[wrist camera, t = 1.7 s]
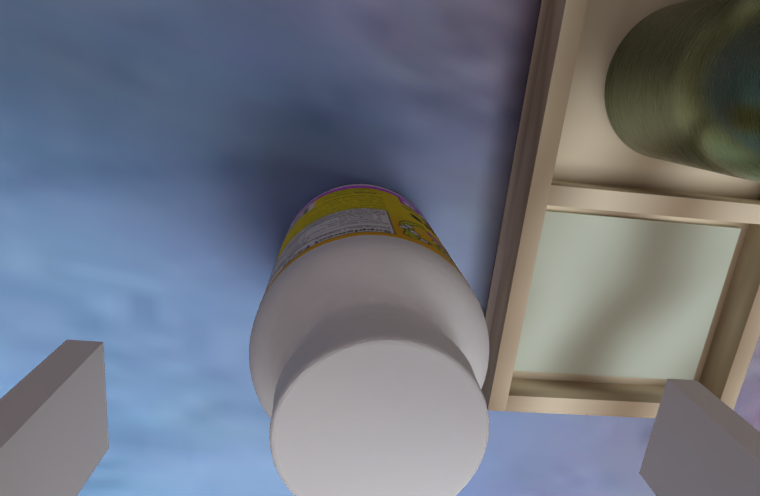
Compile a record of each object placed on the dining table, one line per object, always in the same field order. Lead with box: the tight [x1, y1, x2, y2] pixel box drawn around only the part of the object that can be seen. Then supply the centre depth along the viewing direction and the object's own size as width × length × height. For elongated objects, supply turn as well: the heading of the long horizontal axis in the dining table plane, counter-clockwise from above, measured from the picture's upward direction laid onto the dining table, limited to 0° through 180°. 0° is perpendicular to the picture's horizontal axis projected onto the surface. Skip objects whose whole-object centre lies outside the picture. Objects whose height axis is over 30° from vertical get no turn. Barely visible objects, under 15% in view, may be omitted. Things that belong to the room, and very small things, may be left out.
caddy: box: [481, 0, 760, 418], centre depth 21 cm, size 12×29×2 cm, turn 174°
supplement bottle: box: [249, 184, 489, 496], centre depth 17 cm, size 7×7×13 cm
